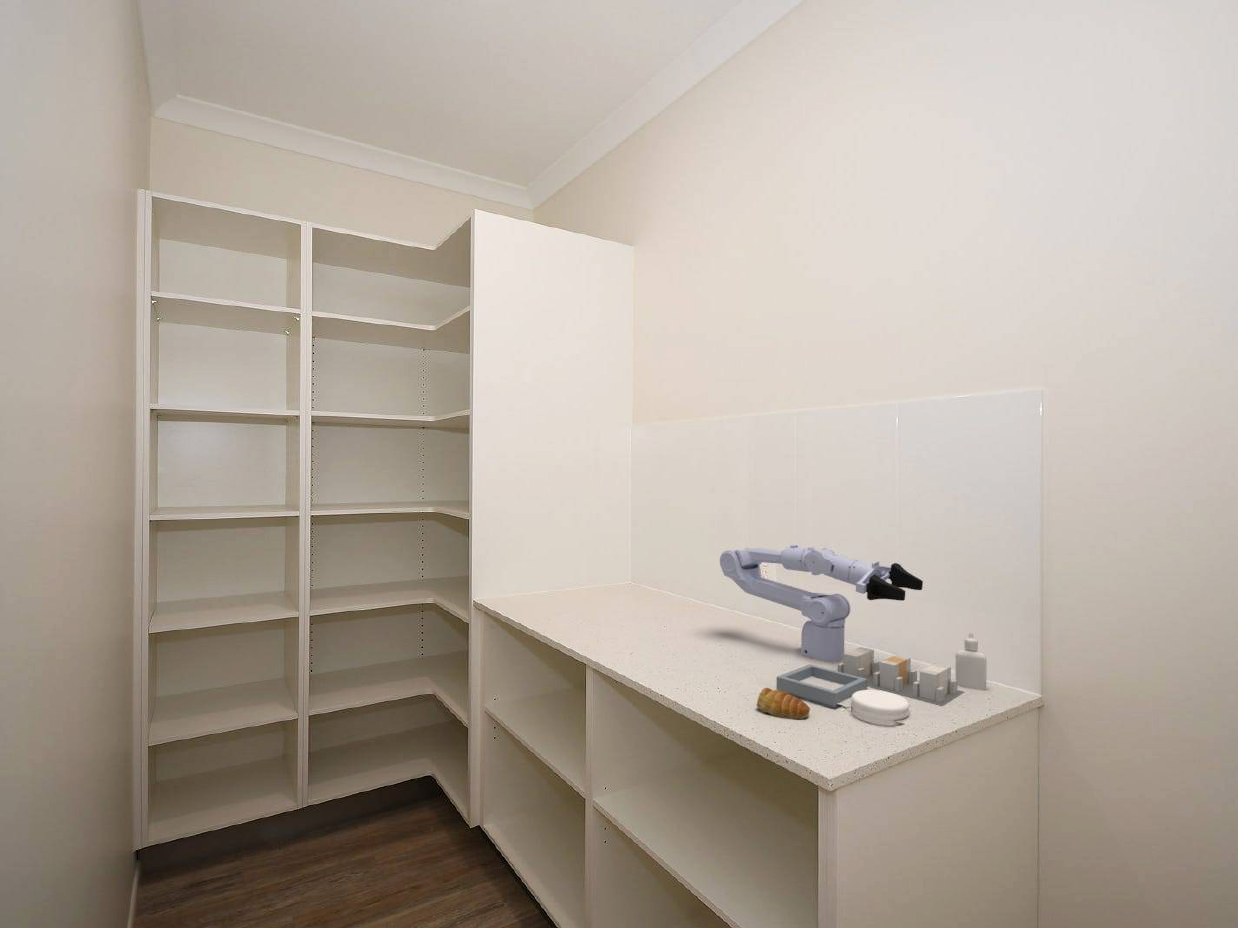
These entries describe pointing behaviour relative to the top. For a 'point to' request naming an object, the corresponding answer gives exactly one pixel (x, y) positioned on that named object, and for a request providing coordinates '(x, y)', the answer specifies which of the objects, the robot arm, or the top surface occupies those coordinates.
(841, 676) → the tray
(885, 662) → the orange fuse
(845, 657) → the ivory fuse left
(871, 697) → the white round tin
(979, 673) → the eye dropper bottle
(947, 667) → the block
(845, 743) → the top surface
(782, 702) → the pastry
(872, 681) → the panel
